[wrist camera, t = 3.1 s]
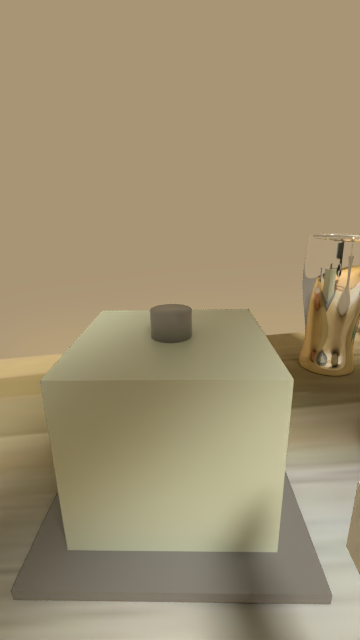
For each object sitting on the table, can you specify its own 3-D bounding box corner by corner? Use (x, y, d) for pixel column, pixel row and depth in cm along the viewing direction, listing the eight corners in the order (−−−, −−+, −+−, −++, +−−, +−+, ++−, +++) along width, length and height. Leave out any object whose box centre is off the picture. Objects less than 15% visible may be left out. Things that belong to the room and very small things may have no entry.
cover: (243, 424, 28) (250, 288, 24) (277, 552, 17) (297, 344, 14) (112, 424, 28) (100, 289, 24) (67, 550, 17) (34, 346, 14)
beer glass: (287, 368, 39) (299, 236, 34) (303, 349, 44) (315, 233, 40) (353, 384, 35) (376, 238, 30) (361, 360, 40) (382, 234, 36)
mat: (262, 416, 30) (262, 410, 29) (330, 604, 15) (332, 594, 15) (96, 416, 30) (95, 410, 30) (13, 599, 16) (11, 590, 16)
